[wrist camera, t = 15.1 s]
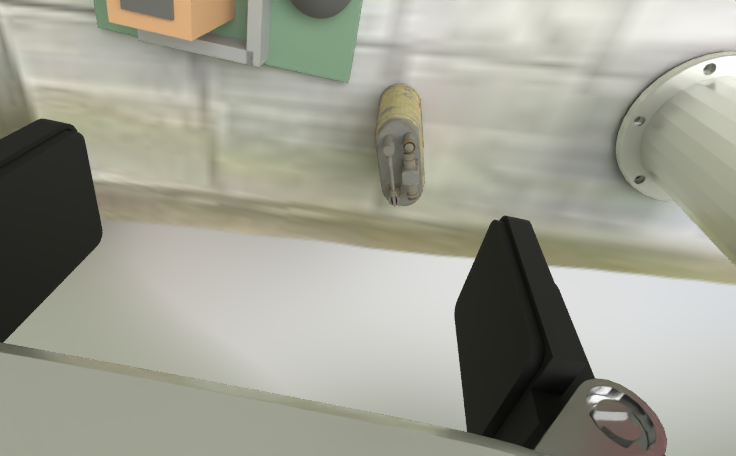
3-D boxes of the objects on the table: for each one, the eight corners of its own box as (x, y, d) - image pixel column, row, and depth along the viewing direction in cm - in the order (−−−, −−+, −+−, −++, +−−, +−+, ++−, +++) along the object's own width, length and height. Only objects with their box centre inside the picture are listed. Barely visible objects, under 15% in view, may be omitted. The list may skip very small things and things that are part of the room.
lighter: (424, 160, 40) (427, 221, 32) (383, 163, 40) (376, 224, 32) (419, 81, 36) (421, 127, 28) (373, 86, 37) (362, 133, 28)
